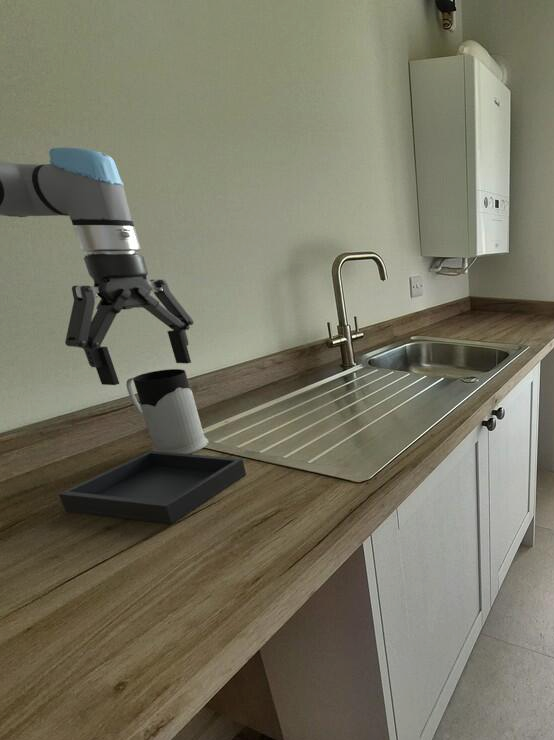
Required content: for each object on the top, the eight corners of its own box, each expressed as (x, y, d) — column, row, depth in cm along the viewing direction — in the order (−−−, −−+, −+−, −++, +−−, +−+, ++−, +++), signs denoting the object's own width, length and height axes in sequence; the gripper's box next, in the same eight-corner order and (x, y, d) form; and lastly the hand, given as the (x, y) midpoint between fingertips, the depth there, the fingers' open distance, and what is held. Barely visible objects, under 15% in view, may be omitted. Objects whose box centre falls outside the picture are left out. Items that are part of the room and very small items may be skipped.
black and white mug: (174, 461, 75) (150, 384, 70) (121, 451, 79) (95, 377, 74) (219, 440, 83) (200, 370, 78) (168, 432, 87) (148, 364, 82)
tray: (65, 511, 61) (58, 493, 60) (155, 465, 73) (150, 450, 72) (171, 524, 58) (165, 506, 57) (246, 474, 70) (242, 458, 69)
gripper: (38, 254, 57) (91, 396, 64) (197, 251, 80) (223, 356, 87) (-3, 255, 58) (52, 394, 65) (165, 252, 82) (193, 355, 88)
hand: (150, 372), depth 76 cm, fingers open, 13 cm apart
